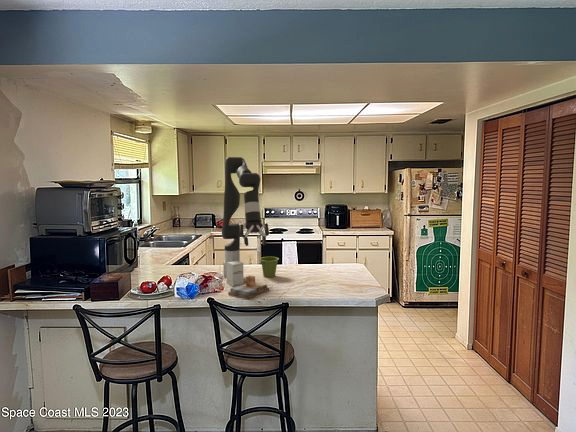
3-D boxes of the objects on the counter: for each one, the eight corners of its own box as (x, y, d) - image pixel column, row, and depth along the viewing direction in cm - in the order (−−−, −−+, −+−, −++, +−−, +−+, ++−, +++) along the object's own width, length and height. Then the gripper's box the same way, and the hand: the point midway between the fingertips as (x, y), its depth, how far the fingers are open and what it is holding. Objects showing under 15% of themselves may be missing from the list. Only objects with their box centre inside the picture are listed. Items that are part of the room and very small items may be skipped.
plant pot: (256, 277, 247) (256, 259, 245) (266, 273, 257) (266, 255, 256) (272, 279, 241) (272, 261, 240) (282, 275, 252) (282, 257, 250)
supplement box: (232, 286, 228) (232, 264, 226) (226, 283, 234) (226, 262, 232) (243, 284, 232) (243, 262, 231) (237, 281, 238) (237, 260, 236)
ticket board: (228, 294, 212) (228, 288, 211) (248, 286, 227) (248, 280, 227) (249, 299, 205) (249, 292, 204) (269, 290, 220) (269, 283, 220)
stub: (241, 288, 217) (240, 276, 216) (245, 287, 221) (245, 274, 220) (254, 291, 213) (254, 278, 212) (258, 289, 216) (258, 277, 215)
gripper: (263, 213, 201) (266, 245, 198) (236, 214, 196) (239, 247, 193) (268, 210, 194) (272, 243, 191) (240, 210, 189) (243, 244, 186)
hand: (255, 245), depth 192 cm, fingers open, 8 cm apart
